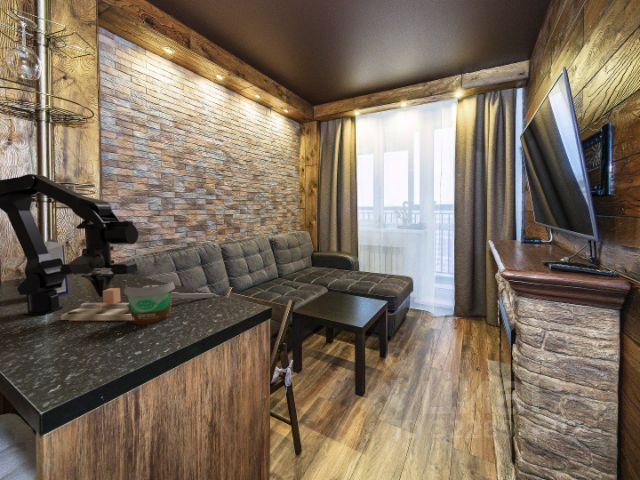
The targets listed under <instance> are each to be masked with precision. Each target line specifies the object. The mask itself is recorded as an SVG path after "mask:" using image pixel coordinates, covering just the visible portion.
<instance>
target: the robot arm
mask: <svg viewBox="0 0 640 480" xmlns="http://www.w3.org/2000/svg"><path fill="white" fill-rule="evenodd" d="M39 193H41V194H42V195H44V196H46V197H48V198H50V199H52V200H54V201H57V202H58V203H61V204H62V205H65V206H66V207H68V208H70V209H71V210H72V212H73V214H74V215H76V216H78V217H79V218H80V219H82V221H81V222H80V223H79V224H78V225H77V226H76V227H75V228H76V229H77V230H78V229H79V230H81V229H82V230H84V237H85V240H84V241H85V248H82V250H81V255H80V256H77V257H76V258H74V259H73V260H71V261H70V262H68V263H67V262H66V264H63V262H62V259H61V258H56V259H55V258H53V257H52V256H50V254H49V253H48V250H47V248H46V246H45V243H44V239H43V237H42V234H41V232H40V230H39V227H38V226H37V223H36V221H35V219H34V218H35V217H33V214H32V211H31V207H32V203H33V196H34V195H37V194H39ZM0 210H1V211H3V213H6V216H7V217H8V220H9V222H10V225H11V227H12V228H13V231H14V233H15V235H16V236H15V237H17V240H18V242H19V244H20V246H21V249H22V251H23V252H22V253H24V257H25V258H26V264H25V267H24V275H25V279H24V280H23V281H22V282H21V283H20V284H19V285H18V287H17V288H16V289H17V291H18V294H19V296H26V304H27V307H26V308H27V311H24V312H22V316H23V315H24V316H27V315H28V316H29V315H31V316H32V315H36V316H37V315H47V314H50V313H53V312H55V311H58V310H60V309H63V305H60V299H59V297H60V296H58V295H57V290H55V289H57V288H61V287H62V284H63V280H64V279H65V277H66V275H67V276H68V275H69V276H71V275H80V277H82V278H85V279H87V280H89V281H90V284H92V286H93V289H94V290H95V291H96V294H97V295H98V297H99V298H103V291H104V290H106V289H109V286H110V284H111V282H112V281H113V279H114V277H115V276H116V275H127V274H128V275H129V274H131V273H133V272H136V271H138V264H137V263H136V262H135V261H121V262H117V263H115V259H112V253H111V252H112V251H114V246H111V245H134V244H136V243H137V241H138V240H139V239H138V238H139V231H138V229H137V227H136V226H135V225H134V224H133V223H134V222H133V220H123V221H122V220H121V219H120V218H119V217H118V215H117V214H116V213H115V212H114V211H113V210H112V206H111V205H110V203H109V202H107V201H104V200H102V199H98V198H93V197H89V196H86V195H82V194H80V193H78V192H76V191H73V190H72V189H70V188H67V187H66V186H64V185H62V184H59V183H57V182H55V181H54V180H51V179H50V178H48V177H47V176H45V175H43V174H33V173H27V174H23V175H21V176H18V177H17V176H16V177H11V178H4V179H1V180H0Z"/></svg>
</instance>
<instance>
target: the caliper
mask: <svg viewBox="0 0 640 480" xmlns="http://www.w3.org/2000/svg"><path fill="white" fill-rule="evenodd" d="M214 295H215V296H214ZM213 296H214V297H218V296H219V295H217V294H215V293H213V292H205V293H204V292H202V293H201V292H200V293H199V292H198V293H197V292H196V293H193V292H192V293H191V292H190V293H180V292H178V291H177V292H175V291H174V292H173V291H172V299H171V302H178V301H179V300H180V299H211V298H214V297H213ZM210 297H211V298H210Z"/></svg>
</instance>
